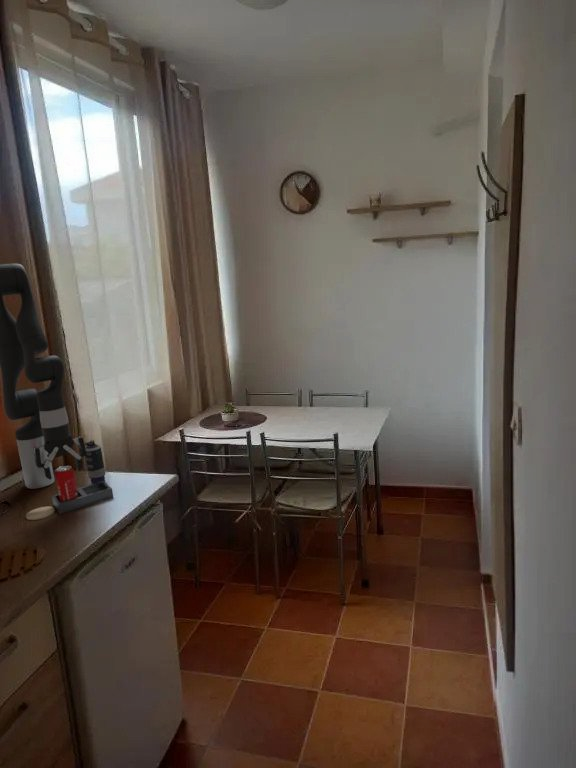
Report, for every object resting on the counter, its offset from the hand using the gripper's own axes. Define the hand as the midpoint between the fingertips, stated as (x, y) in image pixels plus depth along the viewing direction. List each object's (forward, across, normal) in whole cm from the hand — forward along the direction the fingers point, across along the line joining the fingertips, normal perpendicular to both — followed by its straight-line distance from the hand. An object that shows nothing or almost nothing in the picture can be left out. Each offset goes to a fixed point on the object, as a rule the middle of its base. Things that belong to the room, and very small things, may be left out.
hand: (64, 474), depth 164 cm
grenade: (+10, -12, -14) cm, 20 cm away
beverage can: (+10, 0, 0) cm, 10 cm away
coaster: (+10, +8, 0) cm, 13 cm away
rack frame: (+10, -4, 0) cm, 11 cm away
